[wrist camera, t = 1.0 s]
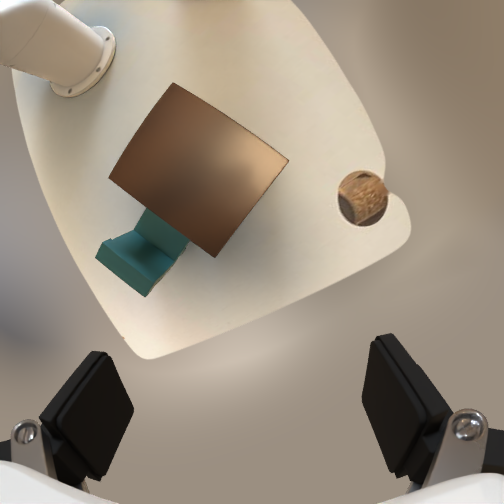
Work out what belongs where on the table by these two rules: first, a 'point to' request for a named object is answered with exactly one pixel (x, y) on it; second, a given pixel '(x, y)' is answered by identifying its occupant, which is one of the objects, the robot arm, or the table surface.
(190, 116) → the side table
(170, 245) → the chair
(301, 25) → the table surface
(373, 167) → the table surface
